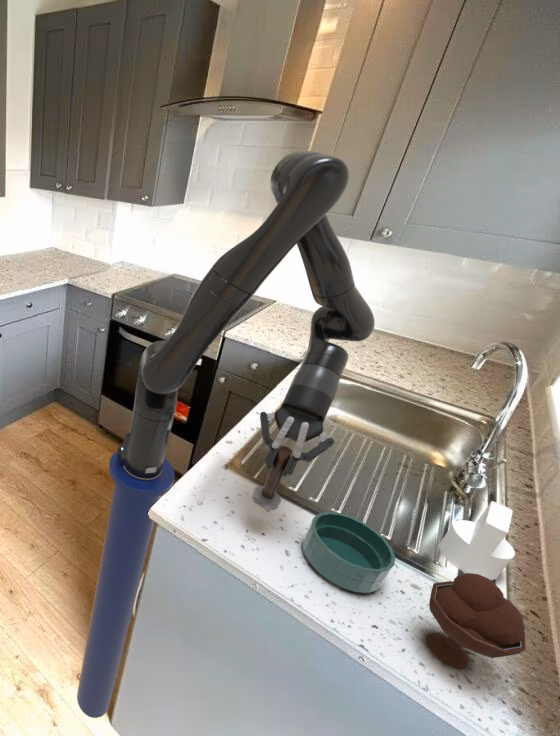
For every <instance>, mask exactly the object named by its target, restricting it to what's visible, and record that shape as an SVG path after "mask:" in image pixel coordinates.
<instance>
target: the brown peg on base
mask: <svg viewBox="0 0 560 736" xmlns="http://www.w3.org/2000/svg"><path fill="white" fill-rule="evenodd" d="M292 454H293V450H292V449H291V448H290V447H289V446H285V445H281V446H280V447H279V449H278V453H277V455H276V458H275V460H274V463H273V465H272V467H271V470H269V472H268V475H267V477H266V480H265V483H264V485H258V486H256V487H254V489H253V491H252V494H251V499H252V500H253V502H254V503H255V504H256V505H258V507H260V508H262V509H265V510H268V511H269V510H270V511H274V510H275V511H276V510H277V509H278V508H279V506H280V504H281V501H282V498H281V496H280V494H279V493H278V492H277V490H278V488H279V485H280V483H281V480H282V478H283V476H282V474H283V472H284V470H285V467H286V465H287V463H288V460H289V458H290V456H292Z"/></svg>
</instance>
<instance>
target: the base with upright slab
mask: <svg viewBox="0 0 560 736" xmlns="http://www.w3.org/2000/svg"><path fill="white" fill-rule="evenodd" d="M513 512H514V511H513V509H512V508H509V507H507V506H505V505H504V504H501V503H498V502H496V501H493V500H491V501H490V502H489V504H488V506H487V507H486V508H485V510H484V511H483V513H481V515H480V517H479V518H478V520H477V521H476V522H474V521H472V520H466V519H459V520H455V521H454V522H453V523H452V524H451V526H450V527H449V529H448V531H446V533H445V535H444V536H443V538H442V540H441V541H440V542H439V544H438V549H439V552H440V553H441V555H442V557H443V558H445V560H446V561H447V562H449V563H450V565H452V566H453V567H455V568H456V569H458V570H459V571H461V572H463V574H465V573H473V574H479V575H481V576H484V577H486V578H488V579H490V580H491V581H494V580H497V578H498V577H499V576H500V575H501V573H502V572H503V571H504V570H505V568H506V567H507V566H508V565H509V564H510V562H511V561H512V560H513V559H514V557H515V556H516V552H515V549H514V547H513V546H512V545H511V544H510V542H509V541H508V540H506V539H505V538H506V536H507V535H508V534H509V531H510V527H511V521H512V516H513Z"/></svg>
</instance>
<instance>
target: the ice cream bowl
mask: <svg viewBox="0 0 560 736" xmlns="http://www.w3.org/2000/svg"><path fill="white" fill-rule="evenodd" d="M428 606H429V611H430V613H431V614H432V616H433V618H434V619H435V621H436V622H437V624H438V625H439V627H440V628H441V630H442V631H443V633H444V634H443V633H440V632H438V631H436V632H430V633H427V634H426V636H425V644H426V645H427V647H428V649H429V650H430V652H431V654H433V655H434V656H435V657H436V658H437V659H438V660H440V661H441V662H442V663H444V665H447V666H449V667H452V668H454V669H456V670H465V669H469V663H470V662H469V661H470V656H469V655H468V653H467V652H466V650H469V651H471V652H474V653H476V654H479V655H481V656H484V657H487V658H489V659H495V658H497V659H498V658H502V657H509V656H515V655H518V654H521V653H522V652H525V651H526V648H527V647H526V632H525V630H526V627H525V622H524V617H523V615H522V613H521V612H520V611H519V609H518V608H517V607H516V606H515V605H514V604H513V602H511V601H510V600H509V599H507V598H506V597H504V593H503V591H502V590H501V588H500V587H498V585H497V584H495V582H494V581H493V580H490V579H488V578H486V577H484V576H481V575H479V574H473V573H463V574H460V575H457V576H455V578H453V581H452V580H448V581H439V582H434V583H433V584H432V587H431V591H430V597H429V602H428ZM465 649H466V650H465Z"/></svg>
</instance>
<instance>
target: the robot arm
mask: <svg viewBox="0 0 560 736" xmlns="http://www.w3.org/2000/svg"><path fill="white" fill-rule="evenodd" d="M270 175H271V176H270V181H269V186H270V187H269V188H270V192H271V195H272V196H273V198H274V200H275V202H276V203H277V204H276V205H275V207H274V208H273V210H272V211H271V212H270V214H269V215H268V216H267V218H266V219H265V220H264V222H263V223H262V224H261V225H260V226H259V227H258V228H257V229H256V230H255V231H254V232H252V234H249V236H247V237H246V238H245V239H243V240H242V241H240V242H239V243H237V244H235V245H234V246H232V248H230V249H229V250H227V251H226V252H225V253H223V254H222V255H221V256H220V257H218V259H217V260H216V261H215V262H214V263H213V265H212V266H211V267H210V269H209V270H208V272H207V273H206V274H205V276H204V277H203V278H202V279H201V281H200V282H199V284H198V285H197V287H196V288H195V290H194V292H193V293H192V295H191V297H190V299H189V301H188V304H187V306H186V307H185V310H184V313H183V315H182V317H181V319H180V322H179V323H178V325H177V327H176V329H175V330H174V331H173V333H172V334H171V336H170V337H169V338H168V339H167V340H164V339H163V340H157V341H154V342H152V343H150V344H149V345H148V346H146V348H145V349H144V351H143V352H142V355H141V358H140V363H139V369H138V373H137V374H138V375H137V381H136V387H135V395H134V401H133V408H132V414H131V419H130V424H129V429H128V431H127V432H126V433H125V434H124V438H123V442H122V444H120V445H119V446H118V448H117V451H118V455H117V456H118V457H120V458H121V460H120V466H122V467H123V468H124V470H125V472H126V473H127V474H128V475H130V476H131V477H133V478H135V479H137V480H141V481H152V480H155V479H157V478H158V477H159V476H160V475H161V471H162V465H163V461H164V458H165V456H166V452H167V448H168V443H169V440H170V435H171V431H172V427H173V423H174V419H175V414H176V410H177V404H178V392H179V388H181V387H182V386H183V385H184V384H185V382H186V381H187V379H188V378H189V376H190V375H191V373H192V372H193V370H194V368H195V367H196V366H197V364H198V363H199V361H200V359H201V358H202V357H203V355H204V353H205V352H206V351H207V350H208V348H209V347H210V346H211V345H212V344H213V343H214V341H215V340H216V339H217V338H219V336H220V334H222V332H224V330H225V329H226V328H227V327H228V325H229V324H230V323H231V322H232V321H233V319H234V318H235V317H236V316H237V315H238V314H239V313H240V311H242V309H243V308H245V306H246V305H247V304H248V303H249V301H250V299H252V298H253V296H254V295H255V294H256V292H257V291H258V290H259V289H260V287H261V286H262V285H263V283H264V282H265V281H266V280H267V278H268V277H269V276H270V275H271V274H272V273H273V271H274V270H275V269H276V268H278V266H279V265H280V263H281V262H282V261H283V260H284V259H285V257H286V256H287V255H288V254H289V253H290V252H291V250H292V249H293V248H295V246H296V247H297V249H298V251H299V254H300V257H301V260H302V263H303V267H304V270H305V275H306V276H307V282H308V285H309V287H310V288H309V289H310V291H311V295H312V298H313V300H314V302H315V303H316V304H317V305H319V306H320V307H319V308H317V309H316V310H315V311H314V312H313V314H312V315H311V318H310V319H311V320H310V334H309V341H308V347H307V351H306V354H305V355H304V357H303V360H302V362H301V364H300V367H299V369H298V370H297V372H296V373H295V375H294V377H293V379H292V381H291V383H290V385H289V388H288V390H287V393H286V395H285V396H284V399H283V401H282V404H281V406H280V407H279V408H278V409H277V410H276V411H274V412H266V411H261V412H260V413H259V420H260V421H259V422H260V428H261V429H260V430H261V436H262V442H263V444H264V445H266V446H267V447H268V448H269V451H268V453H267V455H266V457H265V459H264V465H265V466H266V469H267V470H269V471H270V470H271V467H272V465H273V463H274V460H275V458H276V455H277V453H278V450H279V447H280V446H282V444H283V443H284V441H285V439H290V440H293V441H294V442H295V444H294V448H293V450H292V454H291V456H290V458H289V460H288V463H287V465H286V467H285V470H284V472H283V474H282V477H284V478H287V476H292V475H293V473H294V471H295V469H296V466H297V464H298V462H300V461H303V462H305V463H310V462H311V461H313V460H314V459H315V458H317V457H319V456H320V455H322V454H323V453H325V452H326V451H327V450H329V449H330V448H332V446H334V444H335V439H333V438H332V437H329V436H328V435H327V434H326V433H325V432H324V422H325V420H326V417H327V415H328V412H329V410H330V408H331V405H332V404H333V401H334V399H335V396H336V394H337V391H338V388H339V383H340V381H341V378H342V375H343V373H344V371H345V368H346V366H347V363H348V361H349V353H348V351H347V350H346V349H345V348H343V347H342V346H340V345H338V344H335V343H333V342H330V340H334V341H335V340H336V341H347V342H362V341H365V340H366V339H368V338H369V337H370V336H371V335H372V334H373V332H374V329H375V323H376V322H375V316H374V313H373V310H372V309H371V307H370V306H369V304H368V303H367V301H366V300H365V298H364V297H363V295H362V294H361V292H360V291H359V290H358V287H356V283H355V279H354V275H353V271H352V266H351V263H350V259H349V257H348V255H347V252H346V251H345V249H344V247H343V245H342V243H341V241H340V240H339V239H340V238H338V236H337V235H336V232H335V231H334V228H333V227H332V224H331V222H330V220H329V217H328V213H329V212H330V211H331V210H332V209H333V208H334V207H335V205H337V203H338V202H339V201H340V199H341V197H342V196H343V195H344V193H345V191H346V189H347V187H348V183H349V179H350V171H349V167H348V165H347V163H346V162H345V161H344V160H342V159H341V158H339V157H336V156H333V155H329V154H326V153H321V152H317V151H312V150H298V151H293V152H291V153H289V154H287V155H285V156H284V157H283V158H282V159H280V160H279V161H278V163H277V164H276V165H275V167H274V169H273V170H272V172H271V174H270ZM273 420H275V423H276V426H277V429H278V433H277V435H276V437H275V438H274V439H272V438H271V434H270V426H269V425H271V424H272V423H273ZM317 437H318V440H317V444H318V445H316V446H314V447H313V448H311V449H310V450H309V451H307V452H303V448H304V445H305V443H306V442H309V441H311V440H313V439H315V438H317Z"/></svg>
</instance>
